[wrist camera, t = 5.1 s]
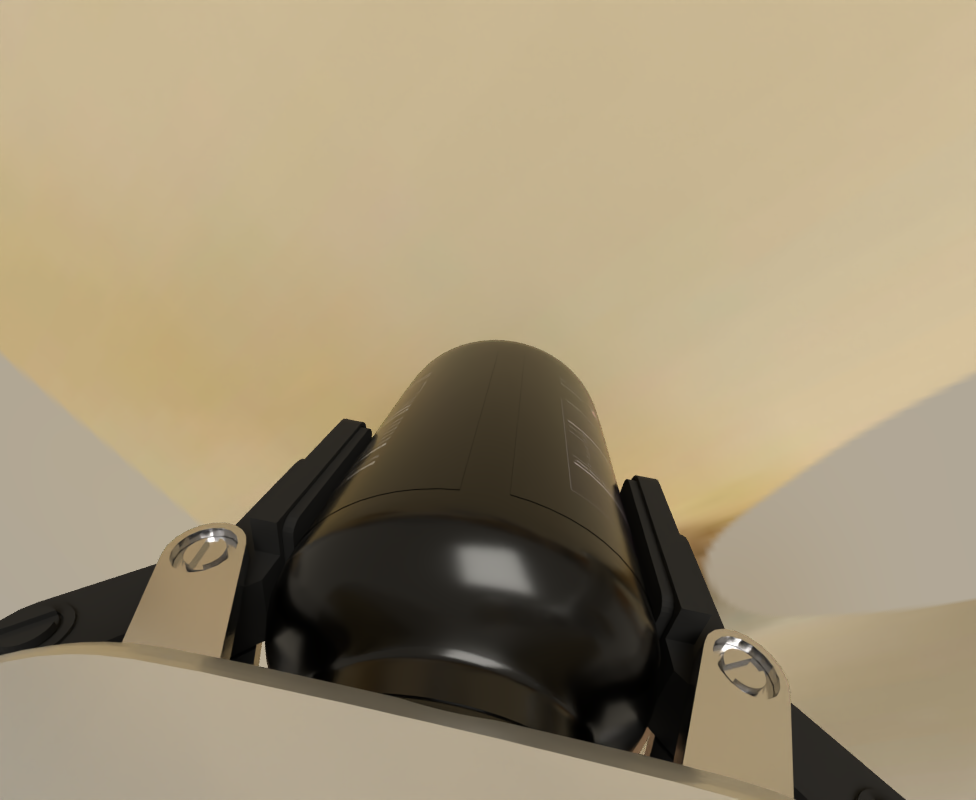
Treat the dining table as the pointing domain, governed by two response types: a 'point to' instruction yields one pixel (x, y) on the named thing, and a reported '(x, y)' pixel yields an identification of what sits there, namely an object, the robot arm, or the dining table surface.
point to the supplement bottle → (479, 559)
